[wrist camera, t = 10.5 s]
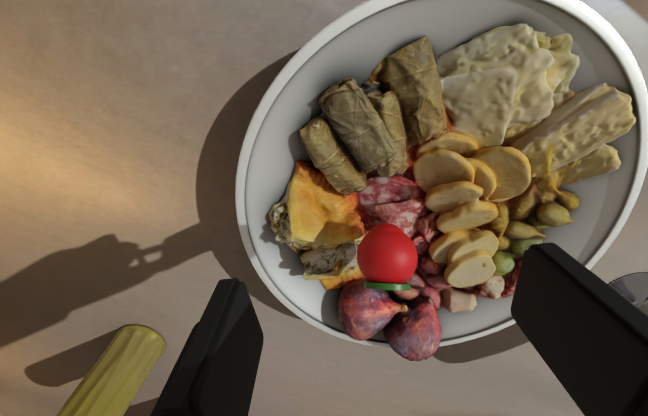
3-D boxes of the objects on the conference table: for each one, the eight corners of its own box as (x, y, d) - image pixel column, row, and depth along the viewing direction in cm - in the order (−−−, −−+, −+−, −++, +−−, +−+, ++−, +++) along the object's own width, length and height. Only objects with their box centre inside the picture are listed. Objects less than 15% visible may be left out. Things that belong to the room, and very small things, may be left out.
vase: (109, 342, 36) (-13, 495, 23) (128, 316, 33) (5, 469, 21) (153, 362, 37) (64, 515, 25) (174, 339, 35) (88, 493, 22)
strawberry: (345, 223, 20) (344, 286, 19) (386, 214, 17) (387, 291, 16) (385, 229, 22) (386, 287, 21) (429, 223, 19) (432, 291, 18)
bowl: (220, 5, 19) (159, -31, 12) (661, -17, 19) (863, -67, 12) (272, 313, 33) (257, 380, 26) (529, 308, 32) (585, 376, 25)
